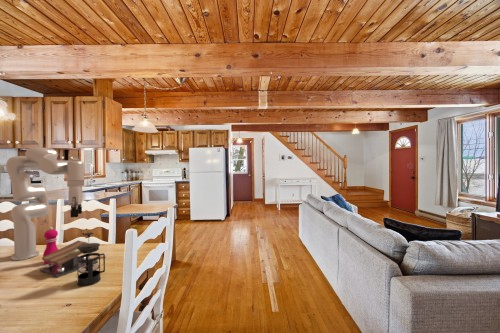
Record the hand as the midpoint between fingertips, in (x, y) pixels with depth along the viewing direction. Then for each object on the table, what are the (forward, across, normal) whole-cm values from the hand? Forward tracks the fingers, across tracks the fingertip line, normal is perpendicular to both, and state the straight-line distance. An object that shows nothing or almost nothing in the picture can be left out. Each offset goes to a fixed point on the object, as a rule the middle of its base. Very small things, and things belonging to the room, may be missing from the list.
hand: (76, 215), depth 131 cm
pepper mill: (+28, -13, -14) cm, 34 cm away
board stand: (+28, -2, -4) cm, 28 cm away
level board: (+21, -1, -4) cm, 21 cm away
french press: (+28, +22, +9) cm, 37 cm away
